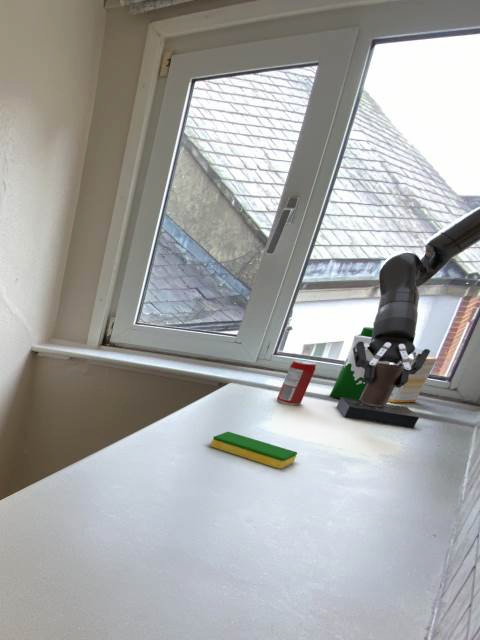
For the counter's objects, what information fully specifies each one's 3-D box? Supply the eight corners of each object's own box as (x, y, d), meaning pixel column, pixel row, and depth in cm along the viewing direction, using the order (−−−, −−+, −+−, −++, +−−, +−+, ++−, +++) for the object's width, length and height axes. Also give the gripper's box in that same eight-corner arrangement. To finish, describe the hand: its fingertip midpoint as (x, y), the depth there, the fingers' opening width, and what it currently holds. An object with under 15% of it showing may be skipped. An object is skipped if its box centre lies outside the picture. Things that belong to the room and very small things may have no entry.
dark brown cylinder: (382, 401, 136) (400, 365, 132) (388, 406, 132) (407, 370, 128) (357, 397, 138) (373, 362, 134) (362, 402, 134) (379, 366, 130)
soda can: (301, 402, 156) (319, 361, 151) (298, 406, 153) (316, 364, 147) (277, 398, 160) (294, 357, 154) (274, 401, 156) (291, 360, 151)
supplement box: (398, 397, 165) (420, 354, 159) (415, 402, 161) (439, 358, 155) (375, 397, 164) (397, 354, 158) (392, 403, 160) (415, 358, 154)
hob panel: (401, 417, 148) (407, 406, 146) (413, 428, 140) (419, 416, 138) (336, 407, 154) (341, 396, 152) (344, 417, 146) (349, 406, 144)
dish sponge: (279, 469, 113) (284, 458, 112) (209, 446, 123) (213, 436, 122) (293, 462, 116) (298, 452, 115) (224, 440, 127) (228, 431, 126)
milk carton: (340, 392, 168) (371, 326, 159) (376, 401, 160) (410, 332, 151) (324, 395, 164) (354, 327, 155) (359, 404, 157) (393, 334, 148)
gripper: (365, 312, 135) (354, 370, 131) (443, 319, 129) (434, 380, 125) (350, 330, 142) (339, 386, 138) (423, 338, 135) (414, 397, 131)
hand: (384, 383), depth 131 cm, fingers closed on dark brown cylinder, 5 cm apart
